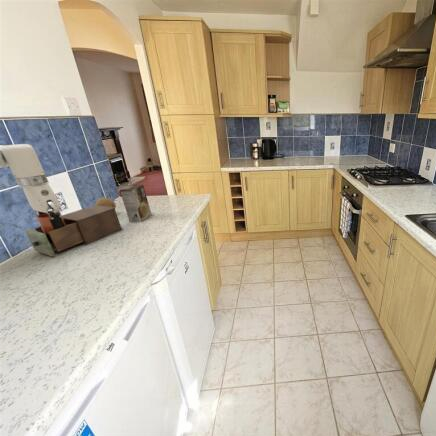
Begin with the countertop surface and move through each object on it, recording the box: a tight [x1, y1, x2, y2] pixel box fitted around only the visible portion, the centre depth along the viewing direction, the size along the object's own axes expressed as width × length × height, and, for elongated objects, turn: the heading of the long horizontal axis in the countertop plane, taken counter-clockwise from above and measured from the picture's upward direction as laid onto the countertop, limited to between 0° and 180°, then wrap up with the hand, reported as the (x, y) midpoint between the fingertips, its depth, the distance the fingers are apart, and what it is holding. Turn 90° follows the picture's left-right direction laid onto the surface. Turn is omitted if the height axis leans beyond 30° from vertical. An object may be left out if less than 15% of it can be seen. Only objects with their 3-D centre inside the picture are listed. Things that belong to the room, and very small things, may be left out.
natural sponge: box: [94, 196, 117, 209], centre depth 124 cm, size 9×9×10 cm
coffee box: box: [118, 184, 152, 222], centre depth 119 cm, size 9×6×16 cm
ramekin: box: [36, 211, 66, 234], centre depth 92 cm, size 7×7×6 cm
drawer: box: [24, 219, 84, 257], centre depth 94 cm, size 15×11×9 cm
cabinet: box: [61, 204, 123, 245], centre depth 104 cm, size 15×13×11 cm
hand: (53, 226), depth 92 cm, fingers closed on ramekin, 6 cm apart
